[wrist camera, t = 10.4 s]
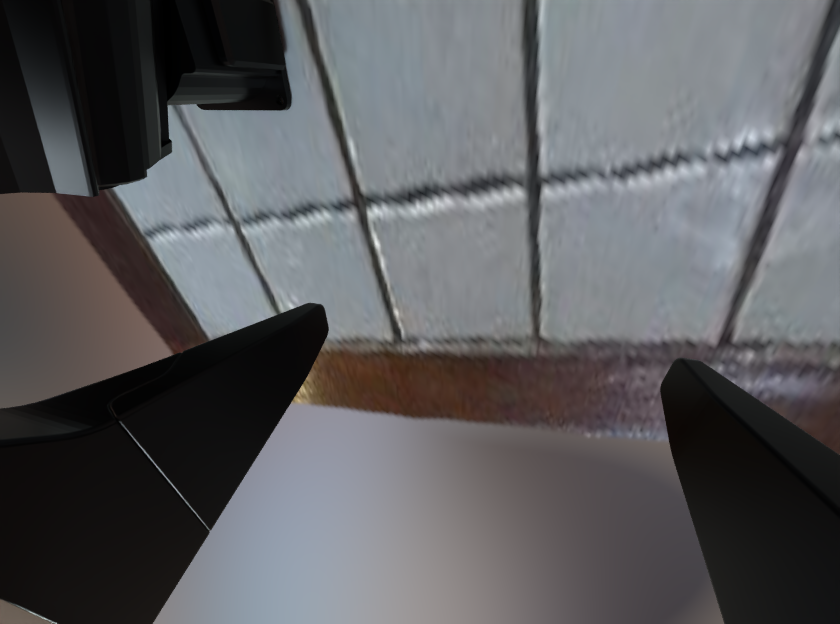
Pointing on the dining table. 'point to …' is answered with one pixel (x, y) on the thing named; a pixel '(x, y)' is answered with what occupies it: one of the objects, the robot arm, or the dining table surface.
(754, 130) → the dining table surface
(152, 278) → the dining table surface
